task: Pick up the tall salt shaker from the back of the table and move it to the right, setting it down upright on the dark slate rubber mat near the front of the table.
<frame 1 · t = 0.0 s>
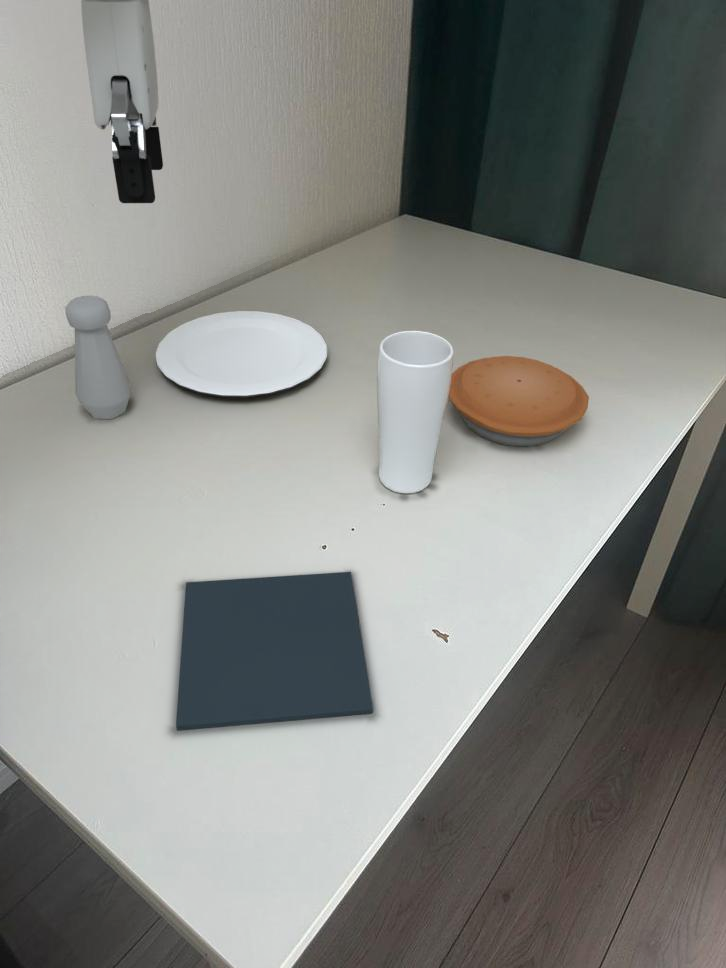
hand: (142, 184, 75), 23 cm above the table, tool pointing down, fingers open, 9 cm apart
pie: (511, 420, 88), on the table
drinking glass: (404, 481, 78), on the table
plate: (243, 361, 95), on the table
mat: (272, 645, 61), on the table
salt shaker: (108, 411, 86), on the table
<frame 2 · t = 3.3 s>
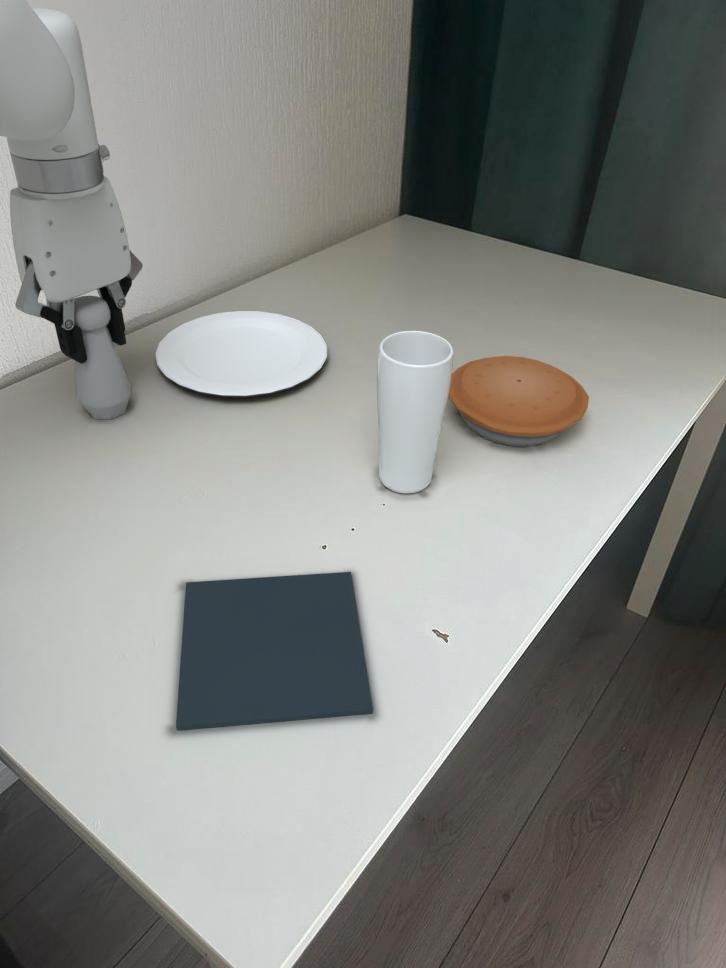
hand: (95, 347, 81), 8 cm above the table, tool pointing down, fingers closed on salt shaker, 4 cm apart
salt shaker: (108, 411, 86), on the table, touching gripper
everything else where it was.
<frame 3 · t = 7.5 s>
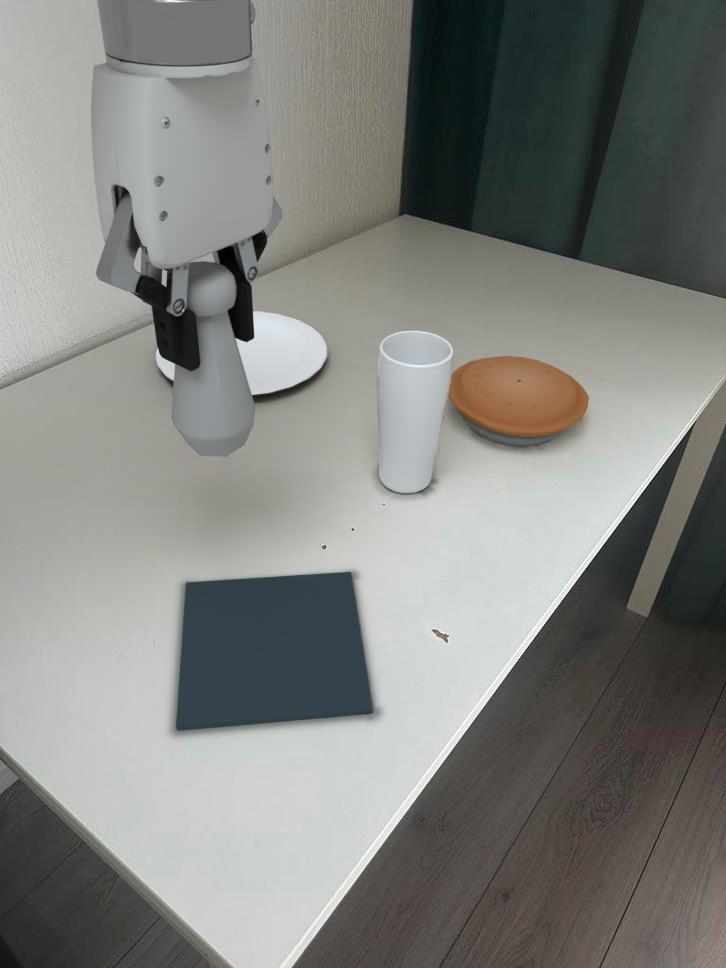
hand: (207, 345, 51), 23 cm above the table, tool pointing down, fingers closed on salt shaker, 4 cm apart
salt shaker: (217, 443, 56), point 15 cm above the table, touching gripper
everything else where it was.
when the fingers open (8 cm above the table, at t = 11.8 s): salt shaker stays where it is, resting on mat.
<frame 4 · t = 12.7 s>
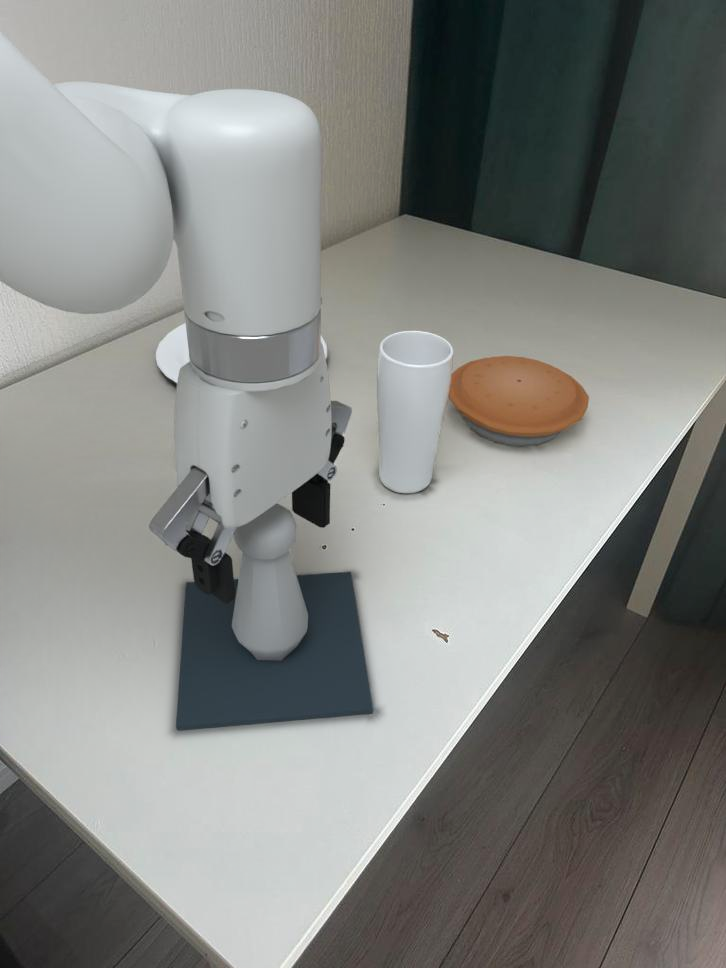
hand: (265, 553, 55), 10 cm above the table, tool pointing down, fingers open, 9 cm apart
salt shaker: (271, 642, 61), resting on mat
everything else where it was.
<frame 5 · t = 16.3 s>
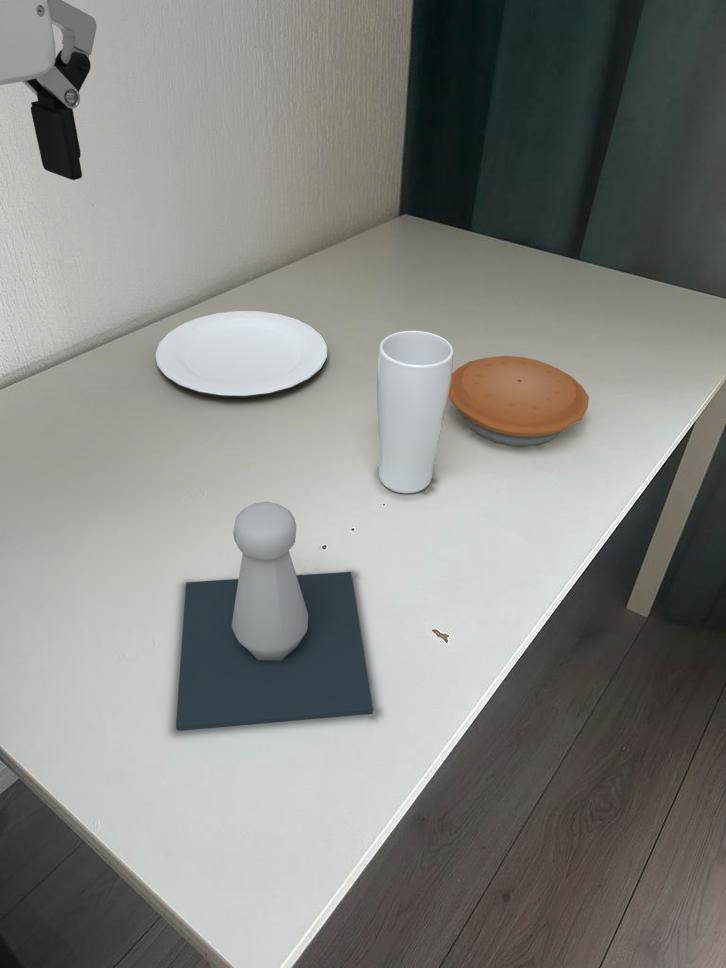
nothing on the table moved.
at the end: salt shaker inside the target area on the mat (0.1 cm from its centre), point 0.4 cm above the mat's base; salt shaker tilted 0°; salt shaker moved 38.9 cm from its start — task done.
